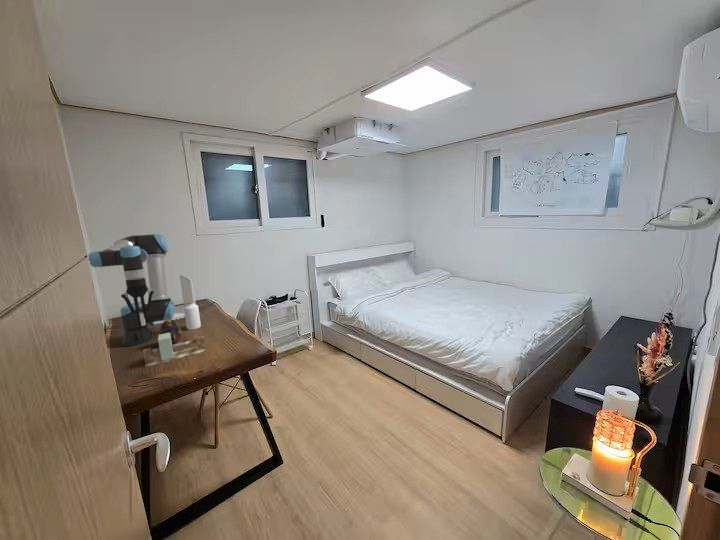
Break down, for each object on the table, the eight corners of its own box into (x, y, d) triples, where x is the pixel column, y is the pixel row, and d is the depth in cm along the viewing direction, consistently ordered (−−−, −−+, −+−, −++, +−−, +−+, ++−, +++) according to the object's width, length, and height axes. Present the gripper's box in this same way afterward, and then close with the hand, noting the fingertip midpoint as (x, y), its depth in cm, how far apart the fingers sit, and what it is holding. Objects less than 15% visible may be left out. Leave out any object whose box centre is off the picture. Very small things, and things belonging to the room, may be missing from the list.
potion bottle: (183, 329, 191) (179, 303, 187) (195, 325, 198) (191, 299, 195) (192, 331, 187) (188, 304, 184) (203, 326, 195) (200, 300, 192)
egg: (185, 343, 169) (181, 318, 166) (163, 349, 161) (159, 324, 159) (180, 338, 176) (176, 314, 174) (159, 344, 169) (155, 319, 166)
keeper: (161, 360, 146) (158, 340, 144) (162, 354, 153) (158, 334, 151) (173, 357, 149) (170, 337, 147) (173, 351, 156) (169, 332, 154)
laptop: (146, 314, 227) (140, 279, 222) (187, 306, 246) (182, 273, 241) (153, 325, 202) (146, 286, 197) (197, 314, 221) (192, 279, 216)
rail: (145, 366, 142) (142, 351, 141) (146, 359, 150) (143, 344, 148) (206, 351, 157) (204, 337, 155) (204, 345, 164) (202, 332, 163)
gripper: (116, 281, 133) (126, 330, 137) (151, 277, 140) (159, 323, 144) (119, 279, 139) (127, 325, 143) (152, 275, 146) (159, 319, 150)
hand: (143, 324), depth 143 cm, fingers closed
